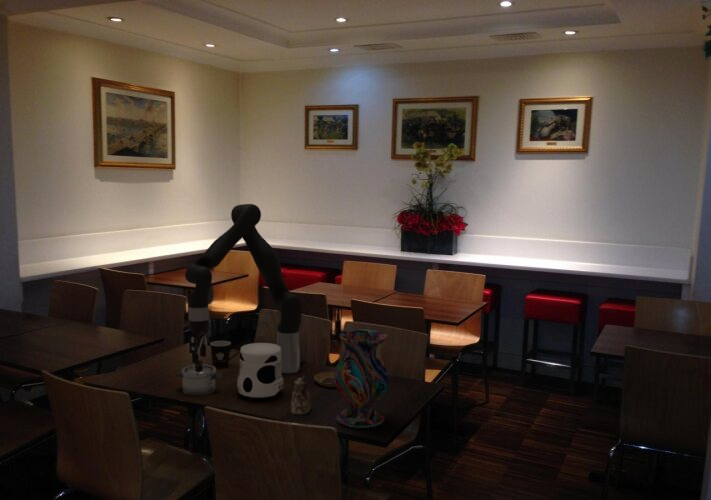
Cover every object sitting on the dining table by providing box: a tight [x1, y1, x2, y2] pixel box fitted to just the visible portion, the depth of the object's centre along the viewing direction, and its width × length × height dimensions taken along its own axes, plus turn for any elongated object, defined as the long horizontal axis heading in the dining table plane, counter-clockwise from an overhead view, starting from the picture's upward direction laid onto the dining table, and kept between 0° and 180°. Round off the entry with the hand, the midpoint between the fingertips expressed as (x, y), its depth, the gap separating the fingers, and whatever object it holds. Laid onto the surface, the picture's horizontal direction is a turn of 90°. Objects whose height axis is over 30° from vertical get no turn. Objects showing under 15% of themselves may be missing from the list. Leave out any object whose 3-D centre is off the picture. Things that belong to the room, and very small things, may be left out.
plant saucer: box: [313, 371, 337, 388], centre depth 250 cm, size 15×15×3 cm
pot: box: [175, 363, 223, 397], centre depth 236 cm, size 17×12×8 cm
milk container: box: [236, 342, 284, 400], centre depth 233 cm, size 17×17×18 cm
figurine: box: [290, 375, 312, 415], centre depth 219 cm, size 7×7×12 cm
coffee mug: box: [209, 340, 241, 369], centre depth 266 cm, size 12×9×10 cm
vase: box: [335, 328, 390, 429], centre depth 211 cm, size 18×18×30 cm
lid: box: [187, 359, 211, 374], centre depth 236 cm, size 9×9×4 cm
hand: (199, 359), depth 235 cm, fingers open, 8 cm apart
